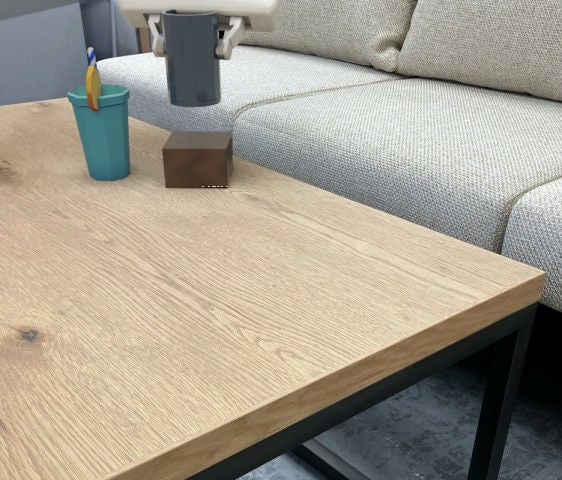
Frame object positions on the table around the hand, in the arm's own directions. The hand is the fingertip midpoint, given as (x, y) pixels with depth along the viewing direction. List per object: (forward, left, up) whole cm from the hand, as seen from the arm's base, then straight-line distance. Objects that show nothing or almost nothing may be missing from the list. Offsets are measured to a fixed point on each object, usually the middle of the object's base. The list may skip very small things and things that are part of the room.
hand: (190, 55), depth 84 cm
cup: (-12, +3, -15) cm, 20 cm away
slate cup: (0, +1, -5) cm, 5 cm away
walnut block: (0, +1, -15) cm, 15 cm away
